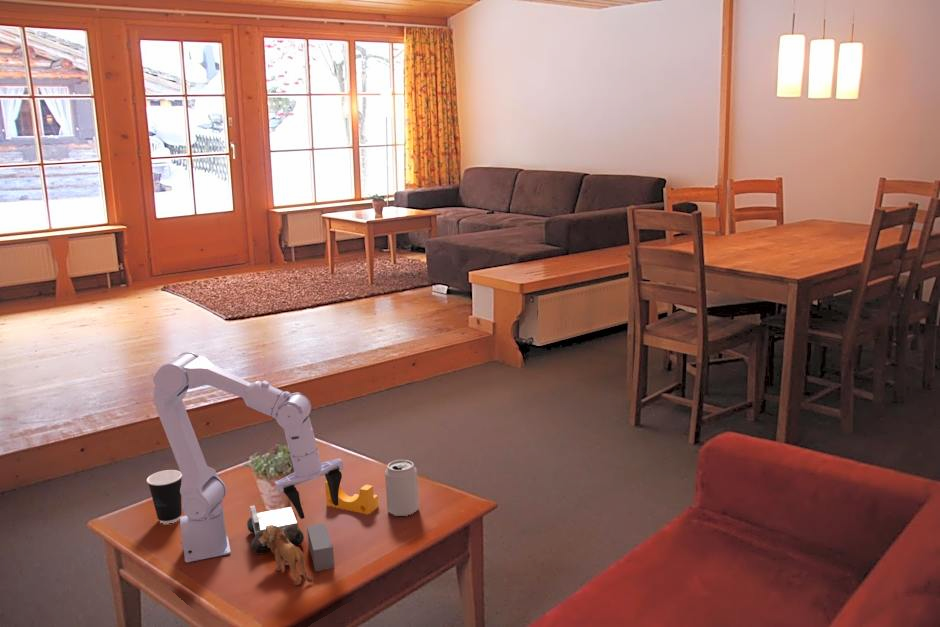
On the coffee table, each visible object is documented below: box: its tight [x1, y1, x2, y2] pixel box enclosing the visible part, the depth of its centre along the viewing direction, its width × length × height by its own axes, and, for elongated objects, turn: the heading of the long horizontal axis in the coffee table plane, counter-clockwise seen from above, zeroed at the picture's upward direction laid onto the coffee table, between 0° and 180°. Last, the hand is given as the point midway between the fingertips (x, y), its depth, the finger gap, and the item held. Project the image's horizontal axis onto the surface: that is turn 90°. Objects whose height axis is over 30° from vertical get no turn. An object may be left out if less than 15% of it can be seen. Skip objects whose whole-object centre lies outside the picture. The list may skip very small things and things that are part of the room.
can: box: [384, 459, 420, 517], centre depth 200 cm, size 8×8×12 cm
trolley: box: [246, 504, 305, 555], centre depth 190 cm, size 11×11×7 cm
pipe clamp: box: [324, 480, 379, 515], centre depth 204 cm, size 12×4×6 cm, turn 63°
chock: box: [306, 522, 335, 572], centre depth 182 cm, size 4×11×5 cm, turn 17°
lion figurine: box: [259, 525, 314, 586], centre depth 176 cm, size 15×5×9 cm, turn 49°
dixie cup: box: [146, 469, 183, 525], centre depth 200 cm, size 8×8×11 cm
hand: (318, 510), depth 181 cm, fingers open, 7 cm apart
